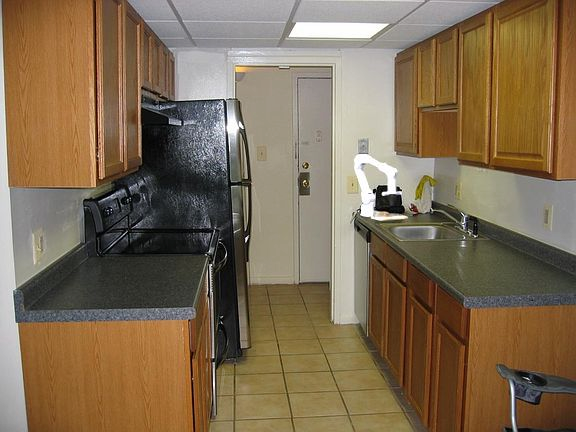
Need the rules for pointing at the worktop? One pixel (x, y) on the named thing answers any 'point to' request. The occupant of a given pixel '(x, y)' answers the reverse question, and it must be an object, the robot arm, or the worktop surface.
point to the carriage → (384, 214)
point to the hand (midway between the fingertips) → (391, 205)
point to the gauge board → (390, 217)
